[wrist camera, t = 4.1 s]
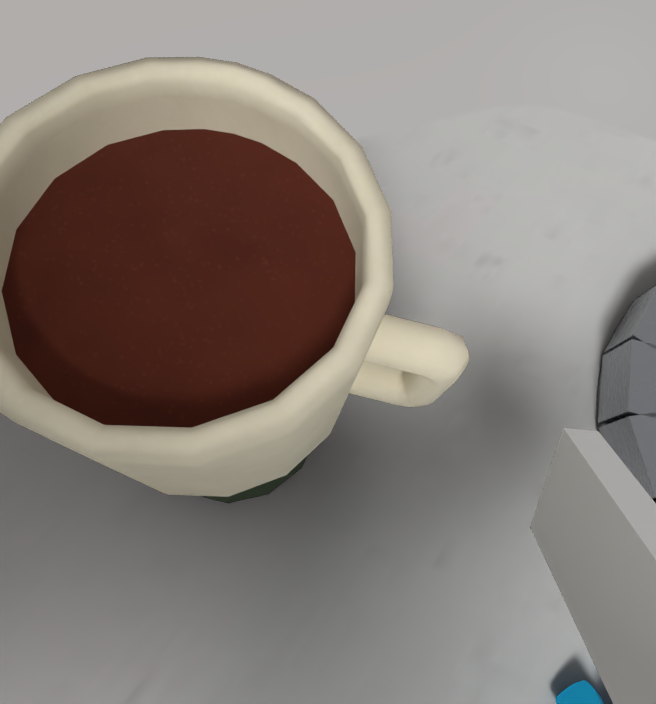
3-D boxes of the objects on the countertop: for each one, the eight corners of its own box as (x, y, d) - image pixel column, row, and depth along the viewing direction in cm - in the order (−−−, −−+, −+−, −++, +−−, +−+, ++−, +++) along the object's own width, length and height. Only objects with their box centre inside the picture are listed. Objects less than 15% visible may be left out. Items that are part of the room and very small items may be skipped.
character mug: (395, 362, 22) (539, 132, 10) (358, 550, 20) (487, 554, 8) (124, 295, 22) (-67, -16, 10) (54, 476, 20) (-314, 359, 7)
